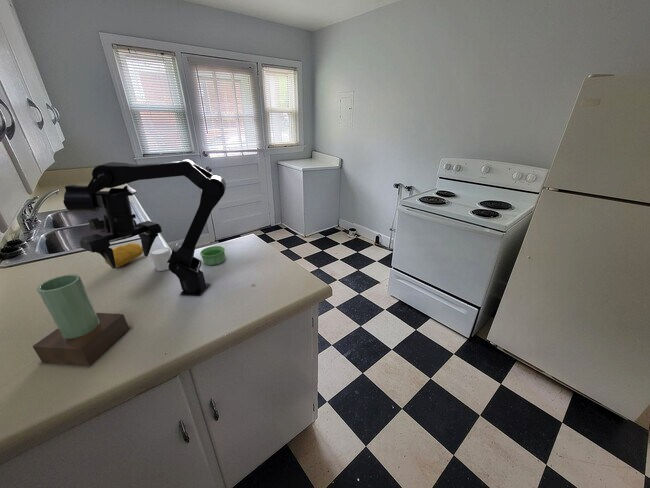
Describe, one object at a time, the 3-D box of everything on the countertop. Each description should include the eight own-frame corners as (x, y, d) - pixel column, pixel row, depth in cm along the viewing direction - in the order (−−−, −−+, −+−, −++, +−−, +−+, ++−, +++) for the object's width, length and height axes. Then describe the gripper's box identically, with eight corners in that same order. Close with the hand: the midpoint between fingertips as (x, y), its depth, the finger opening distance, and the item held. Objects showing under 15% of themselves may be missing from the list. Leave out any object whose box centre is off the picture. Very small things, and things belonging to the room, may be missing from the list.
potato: (102, 268, 102) (96, 252, 99) (137, 253, 114) (132, 238, 111) (115, 272, 100) (109, 255, 97) (150, 256, 111) (145, 241, 108)
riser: (129, 328, 72) (123, 313, 70) (89, 365, 61) (81, 349, 59) (88, 326, 73) (81, 311, 71) (42, 362, 62) (32, 346, 60)
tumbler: (92, 315, 70) (72, 271, 64) (104, 324, 66) (84, 279, 61) (57, 331, 64) (32, 285, 59) (68, 342, 61) (43, 295, 55)
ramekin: (217, 253, 113) (215, 244, 111) (231, 259, 108) (229, 249, 106) (197, 262, 106) (195, 252, 104) (210, 268, 101) (208, 258, 99)
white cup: (165, 272, 99) (160, 255, 96) (150, 270, 100) (144, 254, 98) (178, 263, 105) (174, 247, 102) (163, 262, 107) (158, 246, 104)
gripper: (134, 199, 84) (144, 245, 90) (59, 213, 69) (77, 267, 75) (158, 205, 80) (167, 253, 86) (85, 221, 64) (101, 278, 70)
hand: (130, 262), depth 80 cm, fingers open, 9 cm apart
